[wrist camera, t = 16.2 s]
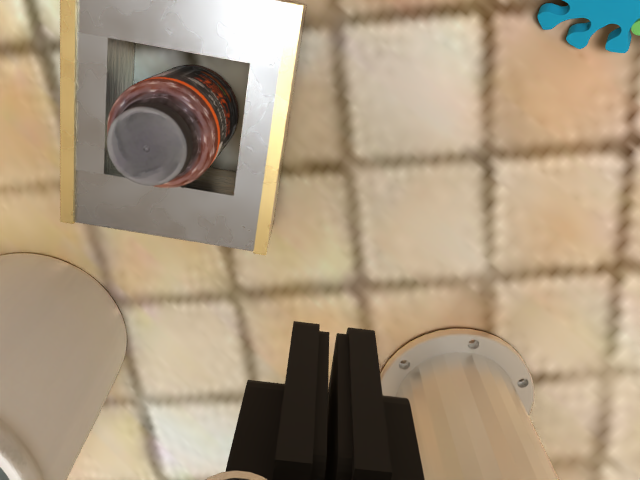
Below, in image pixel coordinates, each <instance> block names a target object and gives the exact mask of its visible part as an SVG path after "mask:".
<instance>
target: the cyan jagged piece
mask: <svg viewBox="0 0 640 480" xmlns="http://www.w3.org/2000/svg"><path fill="white" fill-rule="evenodd" d="M562 1H565V2H567V3H568V4H569V5H568V6H564V7H562V6H558V5H556V4H552V3H546V4H544V5H542V6H541V7H540V10H539V13H538V21H539V23H540V25H541V27H542V28H543V29H544V30H549V29H552V28H554V27H555V26H556V25H557V24H559V23H561V22H563V21H565V20H568V19H573V18H587V19H588V20H590V22H588V23H578V24H574V25H572V26H571V27H570V28H569V31H568V34H567V37H566V40H567V42H568V43H569V44H571V45H572V46H574V47H576V48H578V49H582V48H584V47H585V46H586V45H587V44H588V41H589V39H590V37H591V36H592V35H593V33H595V32H596V31H597V30H599V29H600V28H602V27H604V26H606V25H608V24H617V25H619V26H620V27H619V28H617V29H615V30H613V31H612V32H610V34H609V35H608V38H607V42H606V46H605V48H606V50H608V51H611V52H617V53H625V52H627V51H628V49H629V46H630V42H631V33H630V28H631V30H632V32H633V33H634V34H635V35H640V0H562Z"/></svg>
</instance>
